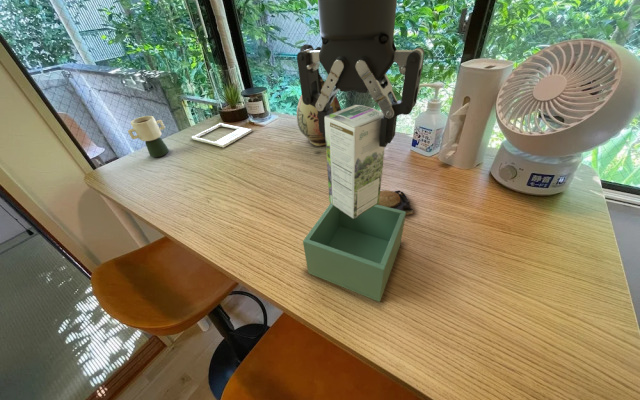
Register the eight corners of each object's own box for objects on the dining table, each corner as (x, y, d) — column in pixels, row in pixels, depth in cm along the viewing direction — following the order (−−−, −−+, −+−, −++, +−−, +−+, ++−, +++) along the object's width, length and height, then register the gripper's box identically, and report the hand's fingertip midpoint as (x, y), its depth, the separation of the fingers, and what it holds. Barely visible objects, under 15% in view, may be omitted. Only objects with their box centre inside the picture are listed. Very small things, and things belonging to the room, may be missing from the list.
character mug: (171, 146, 97) (155, 112, 89) (179, 151, 93) (162, 116, 84) (141, 157, 91) (120, 122, 83) (148, 163, 87) (127, 127, 79)
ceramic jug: (308, 130, 98) (298, 39, 80) (347, 132, 94) (346, 37, 75) (291, 150, 86) (274, 49, 67) (335, 154, 81) (330, 47, 63)
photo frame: (222, 144, 91) (191, 136, 99) (223, 147, 92) (192, 139, 100) (250, 128, 100) (220, 122, 109) (251, 131, 101) (221, 125, 109)
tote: (379, 302, 42) (384, 269, 36) (308, 273, 47) (302, 241, 42) (400, 244, 51) (406, 211, 45) (338, 225, 56) (336, 194, 51)
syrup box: (354, 188, 44) (354, 102, 35) (380, 204, 40) (388, 111, 31) (328, 203, 41) (321, 114, 32) (354, 221, 37) (355, 126, 28)
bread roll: (368, 221, 57) (368, 209, 54) (360, 198, 63) (361, 186, 61) (415, 216, 57) (418, 203, 54) (403, 193, 63) (404, 181, 61)
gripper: (270, -17, 24) (294, 144, 34) (433, -40, 18) (403, 163, 28) (309, -18, 29) (320, 123, 39) (446, -35, 23) (417, 135, 33)
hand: (355, 139), depth 33 cm, fingers closed on syrup box, 7 cm apart
